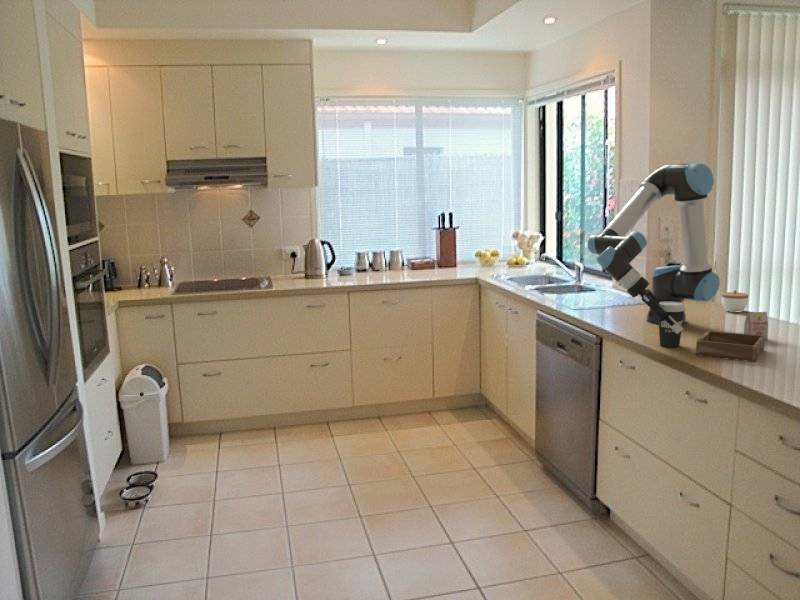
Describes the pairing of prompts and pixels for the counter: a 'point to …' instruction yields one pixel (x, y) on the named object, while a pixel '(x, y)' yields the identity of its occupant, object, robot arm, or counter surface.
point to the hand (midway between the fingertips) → (679, 328)
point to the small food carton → (756, 324)
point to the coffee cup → (665, 332)
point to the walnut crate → (730, 345)
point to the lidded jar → (734, 301)
